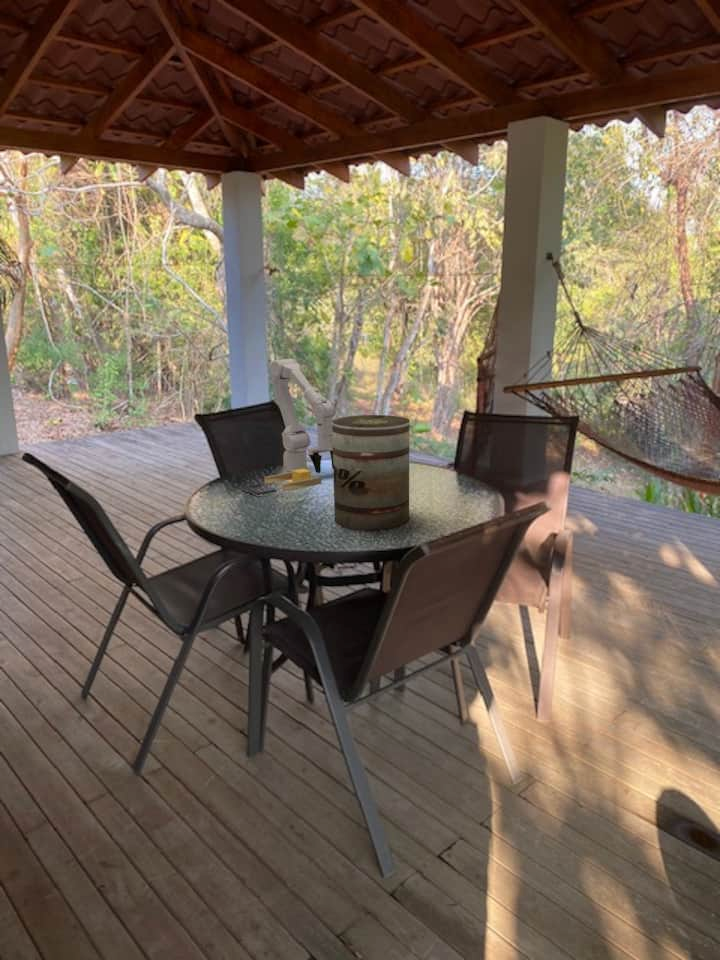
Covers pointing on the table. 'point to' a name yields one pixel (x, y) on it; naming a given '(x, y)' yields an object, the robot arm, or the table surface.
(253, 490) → the pit tray
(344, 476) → the barrel
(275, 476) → the channel
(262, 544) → the table surface
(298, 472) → the block
